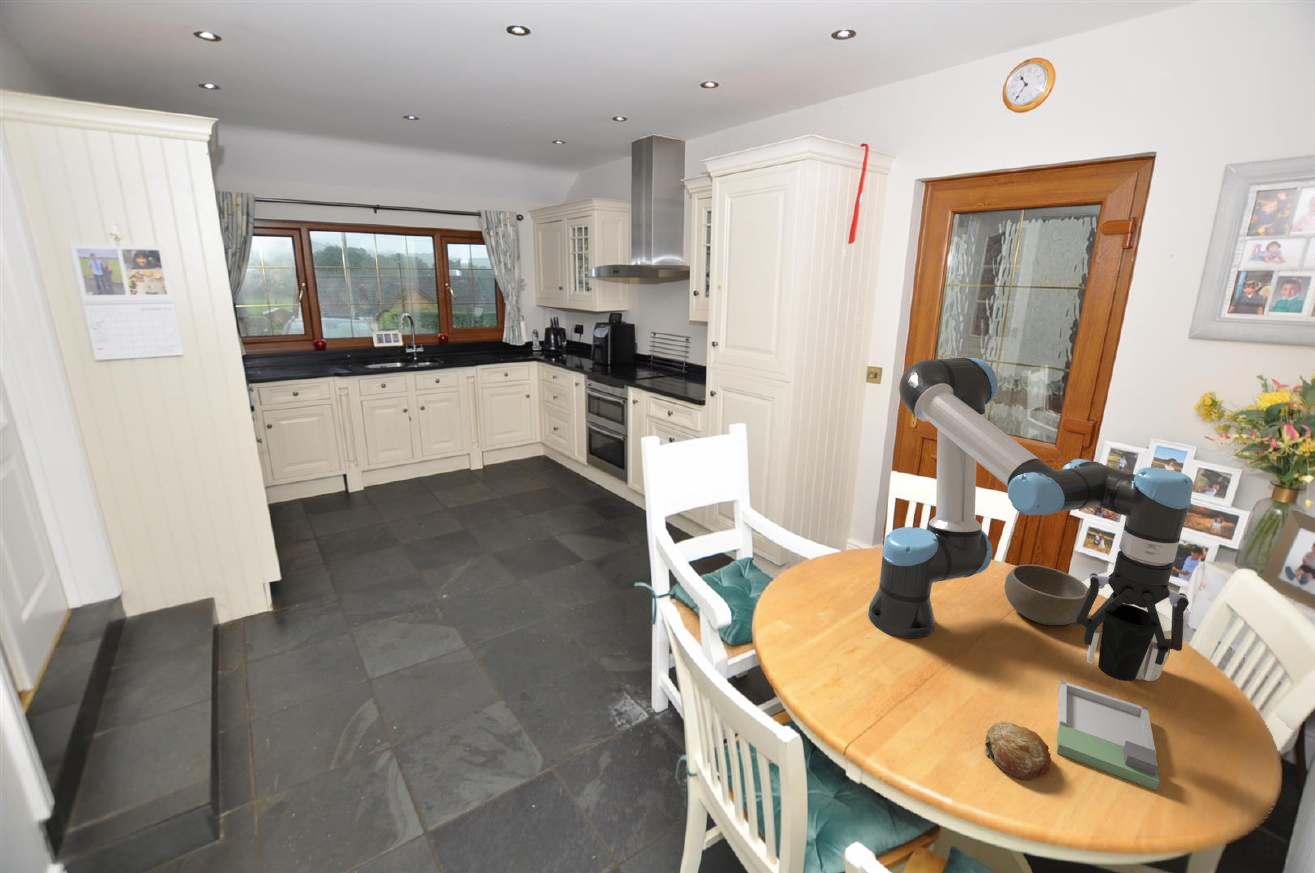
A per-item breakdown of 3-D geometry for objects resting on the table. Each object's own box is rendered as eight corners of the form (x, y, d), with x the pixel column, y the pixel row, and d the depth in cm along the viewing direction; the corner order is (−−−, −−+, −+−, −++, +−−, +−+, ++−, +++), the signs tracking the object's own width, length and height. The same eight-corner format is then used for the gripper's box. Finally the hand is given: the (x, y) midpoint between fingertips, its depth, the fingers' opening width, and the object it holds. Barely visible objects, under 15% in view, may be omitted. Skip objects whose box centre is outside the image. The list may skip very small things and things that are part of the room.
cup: (1152, 687, 103) (1168, 629, 100) (1104, 682, 104) (1118, 624, 101) (1128, 660, 110) (1142, 605, 107) (1083, 655, 112) (1096, 600, 108)
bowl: (1095, 619, 145) (1103, 583, 142) (1063, 644, 135) (1071, 606, 133) (1021, 589, 159) (1028, 556, 156) (988, 609, 149) (994, 575, 146)
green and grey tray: (1056, 753, 105) (1061, 734, 104) (1058, 690, 120) (1062, 674, 119) (1156, 790, 97) (1162, 771, 96) (1144, 719, 113) (1149, 702, 112)
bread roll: (978, 753, 109) (967, 723, 107) (1029, 730, 109) (1018, 700, 107) (1014, 799, 100) (1002, 766, 98) (1069, 774, 99) (1058, 742, 97)
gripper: (1074, 549, 104) (1050, 658, 110) (1230, 582, 92) (1194, 701, 99) (1073, 534, 110) (1051, 638, 116) (1220, 563, 98) (1187, 677, 105)
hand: (1117, 667), depth 107 cm, fingers closed on cup, 8 cm apart
